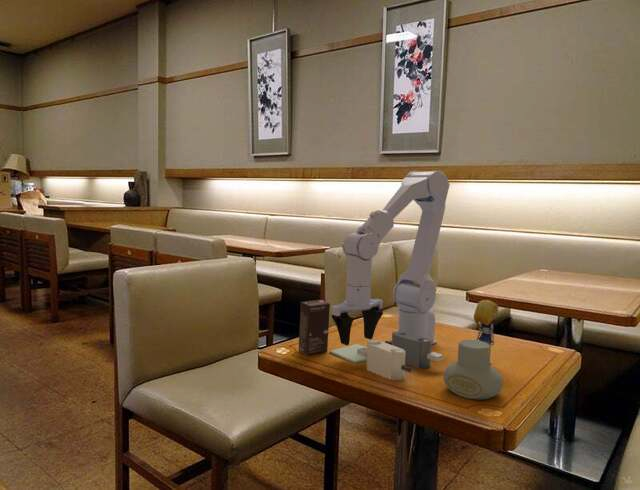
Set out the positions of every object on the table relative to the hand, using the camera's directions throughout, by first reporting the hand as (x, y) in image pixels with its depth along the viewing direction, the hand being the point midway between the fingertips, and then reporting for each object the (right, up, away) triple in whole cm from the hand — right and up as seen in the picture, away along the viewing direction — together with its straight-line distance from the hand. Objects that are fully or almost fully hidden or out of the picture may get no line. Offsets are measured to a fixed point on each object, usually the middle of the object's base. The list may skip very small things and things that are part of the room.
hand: (356, 341), depth 114 cm
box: (-10, -3, +2) cm, 11 cm away
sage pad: (0, -3, 0) cm, 3 cm away
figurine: (+28, -5, -4) cm, 29 cm away
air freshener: (+21, -6, -21) cm, 30 cm away
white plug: (+5, -5, -11) cm, 13 cm away
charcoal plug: (+12, -4, -4) cm, 13 cm away
